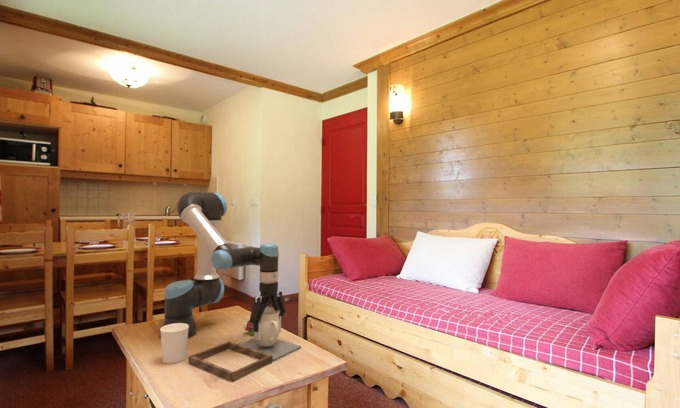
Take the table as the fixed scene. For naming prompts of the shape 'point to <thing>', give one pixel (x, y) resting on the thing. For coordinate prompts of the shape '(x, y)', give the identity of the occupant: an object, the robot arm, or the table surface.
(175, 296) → the robot arm
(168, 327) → the candle holder
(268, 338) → the pitcher
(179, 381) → the table surface
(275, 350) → the slate board
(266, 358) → the frame
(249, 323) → the geometric puzzle
